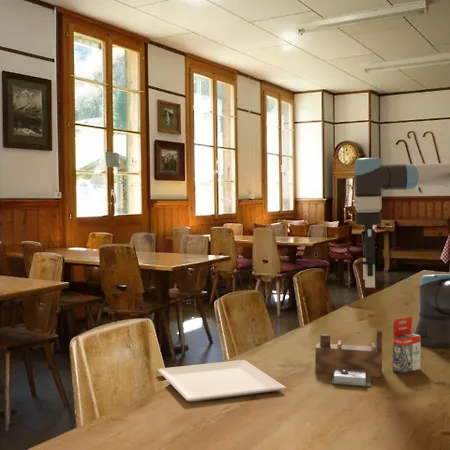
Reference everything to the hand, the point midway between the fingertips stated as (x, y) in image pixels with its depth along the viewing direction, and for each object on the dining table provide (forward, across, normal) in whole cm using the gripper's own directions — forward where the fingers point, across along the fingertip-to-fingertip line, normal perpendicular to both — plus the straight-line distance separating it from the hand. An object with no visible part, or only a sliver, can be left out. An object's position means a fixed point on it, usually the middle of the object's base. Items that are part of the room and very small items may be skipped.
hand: (368, 283), depth 181 cm
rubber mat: (+23, +20, -6) cm, 31 cm away
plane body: (+23, +12, -6) cm, 27 cm away
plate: (+22, +30, -40) cm, 54 cm away
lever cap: (+22, +21, -6) cm, 32 cm away
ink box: (+24, +7, +10) cm, 27 cm away
